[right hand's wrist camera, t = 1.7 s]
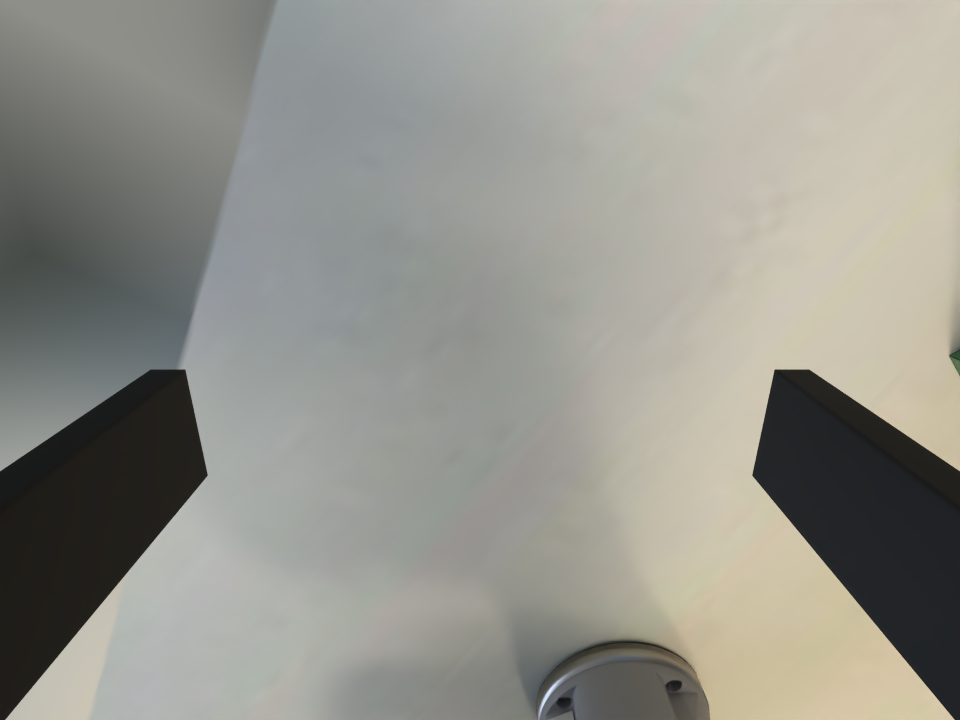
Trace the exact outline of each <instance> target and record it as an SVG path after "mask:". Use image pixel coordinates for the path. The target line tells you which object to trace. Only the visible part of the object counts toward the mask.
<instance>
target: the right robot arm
mask: <svg viewBox="0 0 960 720" xmlns="http://www.w3.org/2000/svg"><path fill="white" fill-rule="evenodd" d="M207 476H208V475H207V470H206V465H205V461H204V456H203V451H202V446H201V442H200V437H199V432H198V428H197V423H196V418H195V413H194V409H193V404H192V399H191V395H190V390H189V385H188V380H187V376H186V371H185V370H150V371H148V372H147V373H145V374H144V375H142V376H141V377H139V378H138V379H136V380H135V381H133V382H132V383H130V384H129V385H127V386H126V387H124V388H123V389H122V390H120V391H119V392H117V393H116V394H114V395H113V396H111V397H110V398H108V399H107V400H105V401H104V402H102V403H101V404H99V405H98V406H96V407H95V408H93V409H92V410H90V411H89V412H88V413H86V414H84V415H83V416H82V417H80V418H79V419H77V420H76V421H74V422H73V423H71V424H70V425H68V426H67V427H65V428H64V429H62V430H61V431H59V432H58V433H56V434H55V435H53V436H52V437H50V438H49V439H48V440H46V441H45V442H43V443H42V444H40V445H39V446H37V447H36V448H34V449H33V450H31V451H30V452H28V453H27V454H25V455H24V456H22V457H21V458H19V459H18V460H16V461H15V462H14V463H12V464H11V465H9V466H8V467H6V468H5V469H3V470H2V471H0V720H5V719H6V718H7V717H8V716H9V714H10V713H11V712H12V711H13V710H14V708H15V707H16V706H17V705H18V704H19V702H20V701H21V700H22V699H23V698H24V696H25V695H26V694H27V693H28V692H29V690H30V689H31V688H32V687H33V685H34V684H35V683H36V682H37V681H38V679H39V678H40V677H41V676H42V675H43V673H44V672H45V671H46V670H47V669H48V667H49V666H50V665H51V664H52V663H53V661H54V660H55V659H56V658H57V657H58V655H59V654H60V653H61V652H62V651H63V649H64V648H65V647H66V646H67V645H68V643H69V642H70V641H71V640H72V638H73V637H74V636H75V635H76V634H77V632H78V631H79V630H80V629H81V628H82V626H83V625H84V624H85V623H86V622H87V620H88V619H89V618H90V617H91V616H92V614H93V613H94V612H95V611H96V609H97V608H98V607H99V606H100V605H101V604H102V602H103V601H104V600H105V599H106V598H107V596H108V595H109V594H110V593H111V591H112V590H113V589H114V588H115V587H116V585H117V584H118V583H119V582H120V581H121V579H122V578H123V577H124V576H125V575H126V573H127V572H128V571H129V570H130V569H131V567H132V566H133V565H134V564H135V563H136V561H137V560H138V559H139V558H140V557H141V555H142V554H143V553H144V552H145V550H146V549H147V548H148V547H149V546H150V544H151V543H152V542H153V541H154V540H155V538H156V537H157V536H158V535H159V534H160V532H161V531H162V530H163V529H164V528H165V526H166V525H167V524H168V523H169V522H170V520H171V519H172V518H173V517H174V516H175V514H176V513H177V512H178V511H179V509H180V508H181V507H182V506H183V505H184V503H185V502H186V501H187V500H188V499H189V497H190V496H191V495H192V494H193V493H194V491H195V490H196V489H197V488H198V487H199V485H200V484H201V483H202V482H203V481H204V479H205V478H206V477H207ZM752 476H753V477H754V478H755V479H756V481H757V482H758V483H759V484H760V485H761V487H762V488H763V489H764V490H765V491H766V493H767V494H768V495H769V496H770V497H771V499H772V500H773V501H774V502H775V503H776V505H777V506H778V507H779V508H780V509H781V511H782V512H783V513H784V514H785V516H786V517H787V518H788V519H789V520H790V522H791V523H792V524H793V525H794V526H795V528H796V529H797V530H798V531H799V532H800V534H801V535H802V536H803V537H804V538H805V540H806V541H807V542H808V543H809V544H810V546H811V547H812V548H813V549H814V550H815V552H816V553H817V554H818V555H819V557H820V558H821V559H822V560H823V561H824V563H825V564H826V565H827V566H828V567H829V569H830V570H831V571H832V572H833V573H834V575H835V576H836V577H837V578H838V579H839V581H840V582H841V583H842V584H843V585H844V587H845V588H846V589H847V590H848V591H849V593H850V594H851V595H852V596H853V598H854V599H855V600H856V601H857V602H858V604H859V605H860V606H861V607H862V608H863V610H864V611H865V612H866V613H867V614H868V616H869V617H870V618H871V619H872V620H873V622H874V623H875V624H876V625H877V626H878V628H879V629H880V630H881V631H882V632H883V634H884V635H885V636H886V637H887V638H888V640H889V641H890V642H891V643H892V645H893V646H894V647H895V648H896V649H897V651H898V652H899V653H900V654H901V655H902V657H903V658H904V659H905V660H906V661H907V663H908V664H909V665H910V666H911V667H912V669H913V670H914V671H915V672H916V673H917V675H918V676H919V677H920V678H921V679H922V681H923V682H924V683H925V684H926V686H927V687H928V688H929V689H930V690H931V692H932V693H933V694H934V695H935V696H936V698H937V699H938V700H939V701H940V702H941V704H942V705H943V706H944V707H945V708H946V710H947V711H948V712H949V713H950V714H951V716H952V717H953V718H954V719H955V720H960V471H958V470H957V469H955V468H954V467H952V466H951V465H949V464H948V463H947V462H945V461H944V460H942V459H941V458H939V457H938V456H936V455H935V454H933V453H932V452H930V451H929V450H927V449H926V448H924V447H923V446H921V445H920V444H918V443H917V442H915V441H914V440H912V439H911V438H910V437H908V436H907V435H905V434H904V433H902V432H901V431H899V430H898V429H896V428H895V427H893V426H892V425H890V424H889V423H887V422H886V421H884V420H883V419H881V418H880V417H878V416H877V415H876V414H874V413H873V412H871V411H870V410H868V409H867V408H865V407H864V406H862V405H861V404H859V403H858V402H856V401H855V400H853V399H852V398H850V397H849V396H847V395H846V394H844V393H843V392H841V391H840V390H839V389H837V388H836V387H834V386H833V385H831V384H830V383H828V382H827V381H825V380H824V379H822V378H821V377H819V376H818V375H816V374H815V373H813V372H812V371H810V370H775V371H774V376H773V380H772V385H771V390H770V395H769V399H768V404H767V409H766V413H765V418H764V423H763V428H762V432H761V437H760V442H759V446H758V451H757V456H756V461H755V465H754V470H753V475H752ZM536 708H537V720H710V713H709V705H708V701H707V698H706V696H705V693H704V691H703V688H702V686H701V683H700V681H699V679H698V677H697V675H696V673H695V672H694V670H693V669H692V668H691V667H690V666H689V665H688V664H687V663H686V662H685V661H684V660H682V659H681V658H680V657H678V656H676V655H675V654H673V653H671V652H669V651H666V650H664V649H661V648H658V647H654V646H650V645H645V644H637V643H617V644H608V645H603V646H599V647H595V648H591V649H588V650H586V651H583V652H581V653H578V654H576V655H574V656H572V657H571V658H569V659H567V660H566V661H564V662H563V663H561V664H560V665H559V666H558V667H556V668H555V669H554V670H553V671H552V672H551V673H550V674H549V676H548V677H547V678H546V679H545V681H544V682H543V684H542V686H541V688H540V691H539V693H538V697H537V704H536Z"/></svg>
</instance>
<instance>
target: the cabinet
mask: <svg viewBox="0 0 960 720" xmlns="http://www.w3.org/2000/svg"><path fill="white" fill-rule="evenodd" d="M950 358H951V360H952V362H953V363H954V365H955V367H956V369H957V371H958V373H959V375H960V350H959V351H957V352H956V353H954V354H953V355H951V356H950Z"/></svg>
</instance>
